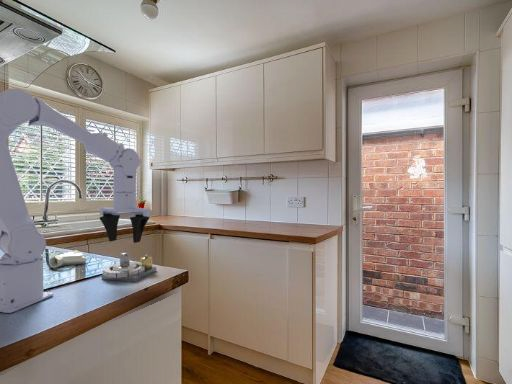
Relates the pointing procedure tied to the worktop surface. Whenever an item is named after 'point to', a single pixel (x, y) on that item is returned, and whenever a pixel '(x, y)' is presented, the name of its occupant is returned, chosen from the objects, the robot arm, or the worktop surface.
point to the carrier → (130, 271)
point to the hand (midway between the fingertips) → (124, 241)
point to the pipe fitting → (67, 259)
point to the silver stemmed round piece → (124, 263)
